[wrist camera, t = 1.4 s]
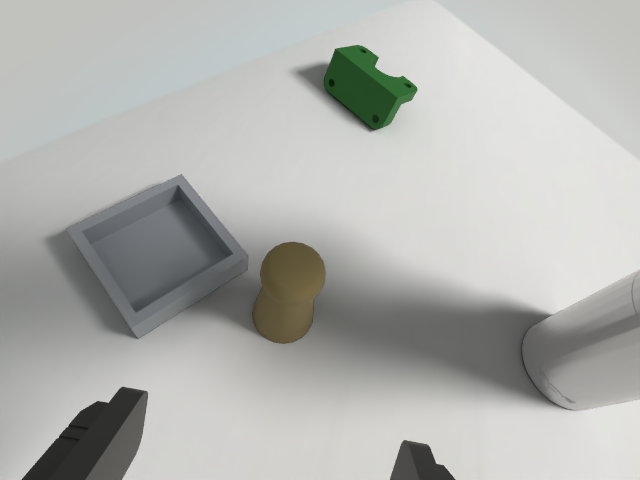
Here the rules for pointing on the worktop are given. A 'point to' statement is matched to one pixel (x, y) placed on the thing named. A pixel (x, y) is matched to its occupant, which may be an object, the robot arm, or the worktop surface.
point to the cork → (288, 292)
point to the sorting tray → (159, 253)
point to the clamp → (366, 86)
